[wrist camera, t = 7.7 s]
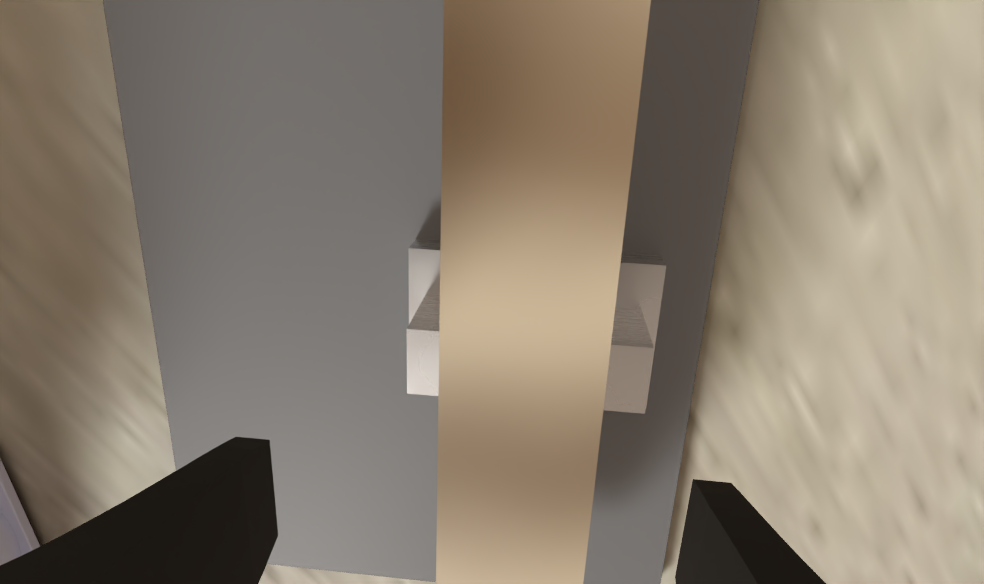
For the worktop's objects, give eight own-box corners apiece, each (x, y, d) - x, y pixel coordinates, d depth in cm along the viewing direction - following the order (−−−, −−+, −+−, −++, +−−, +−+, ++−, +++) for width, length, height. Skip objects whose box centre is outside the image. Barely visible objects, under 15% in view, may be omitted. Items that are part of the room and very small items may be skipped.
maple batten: (556, 673, 19) (555, 822, 16) (457, 661, 20) (432, 805, 16) (635, -91, 12) (668, -153, 9) (479, -94, 13) (445, -157, 9)
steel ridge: (641, 392, 20) (658, 459, 16) (416, 373, 20) (388, 435, 17) (660, 254, 18) (683, 298, 15) (415, 238, 19) (385, 277, 15)
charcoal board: (652, 583, 23) (656, 605, 22) (203, 536, 25) (189, 555, 24) (759, -71, 16) (772, -79, 15) (112, -89, 17) (87, -98, 16)
